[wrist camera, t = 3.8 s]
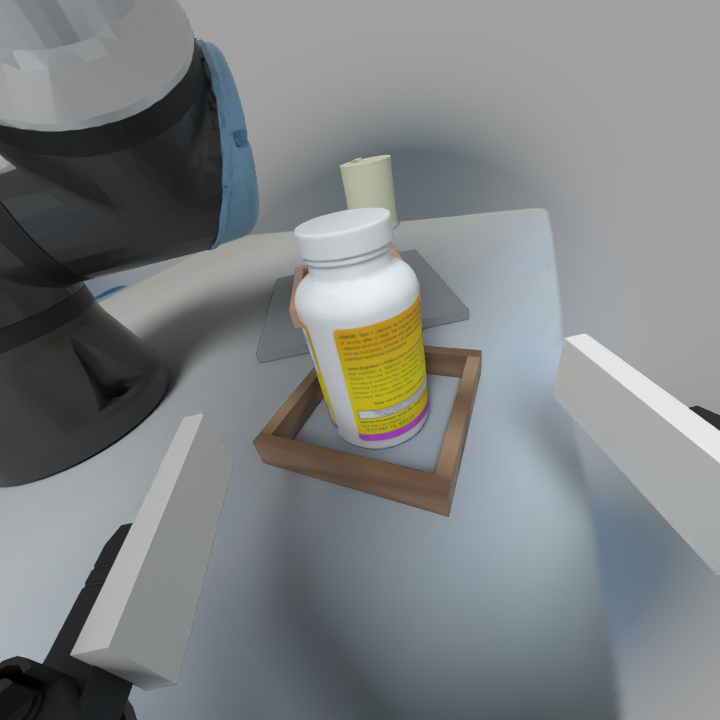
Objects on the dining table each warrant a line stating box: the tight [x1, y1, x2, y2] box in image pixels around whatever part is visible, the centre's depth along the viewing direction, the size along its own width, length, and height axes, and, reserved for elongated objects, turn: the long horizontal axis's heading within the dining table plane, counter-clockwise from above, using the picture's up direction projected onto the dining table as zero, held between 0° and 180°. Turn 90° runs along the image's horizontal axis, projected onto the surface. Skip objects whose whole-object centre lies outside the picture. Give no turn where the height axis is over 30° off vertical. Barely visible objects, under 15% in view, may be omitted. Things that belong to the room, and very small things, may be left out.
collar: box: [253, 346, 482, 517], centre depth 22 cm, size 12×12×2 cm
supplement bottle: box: [294, 208, 429, 449], centre depth 19 cm, size 7×7×13 cm
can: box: [340, 155, 398, 229], centre depth 61 cm, size 9×9×12 cm
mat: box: [256, 249, 469, 363], centre depth 39 cm, size 20×20×1 cm
